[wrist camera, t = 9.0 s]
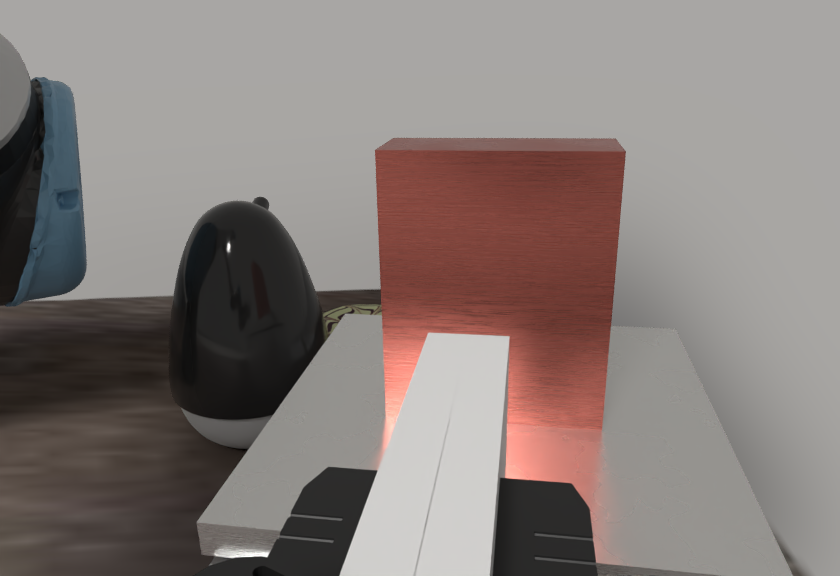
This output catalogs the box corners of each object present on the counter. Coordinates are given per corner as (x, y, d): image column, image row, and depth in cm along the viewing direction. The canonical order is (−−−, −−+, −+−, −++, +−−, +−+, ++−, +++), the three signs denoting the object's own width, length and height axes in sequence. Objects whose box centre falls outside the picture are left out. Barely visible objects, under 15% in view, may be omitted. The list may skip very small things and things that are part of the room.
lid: (788, 619, 18) (879, 202, 14) (201, 554, 20) (143, 190, 17) (673, 351, 33) (701, 118, 29) (346, 334, 36) (333, 118, 32)
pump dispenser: (349, 389, 49) (337, 183, 44) (319, 474, 40) (299, 223, 34) (213, 387, 50) (185, 184, 45) (151, 470, 40) (106, 223, 35)
